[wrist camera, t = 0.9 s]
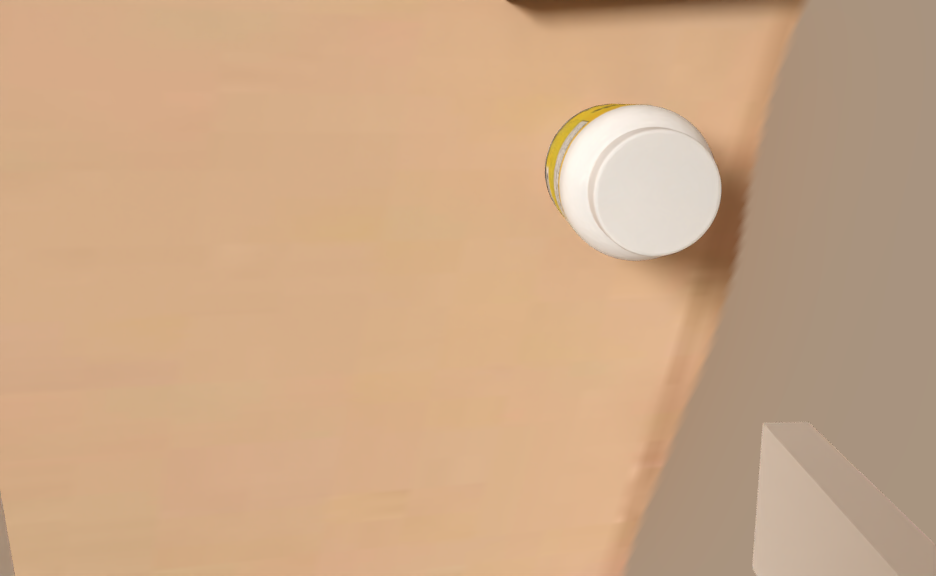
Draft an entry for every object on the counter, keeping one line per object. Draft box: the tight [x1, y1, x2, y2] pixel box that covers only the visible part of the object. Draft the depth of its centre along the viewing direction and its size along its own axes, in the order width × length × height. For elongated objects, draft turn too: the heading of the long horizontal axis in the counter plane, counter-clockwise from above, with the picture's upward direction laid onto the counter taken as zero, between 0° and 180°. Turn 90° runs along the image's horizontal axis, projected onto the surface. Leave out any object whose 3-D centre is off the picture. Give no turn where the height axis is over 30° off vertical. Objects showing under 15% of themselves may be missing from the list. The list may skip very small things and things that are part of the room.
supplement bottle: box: [545, 104, 722, 261], centre depth 29 cm, size 5×5×10 cm
